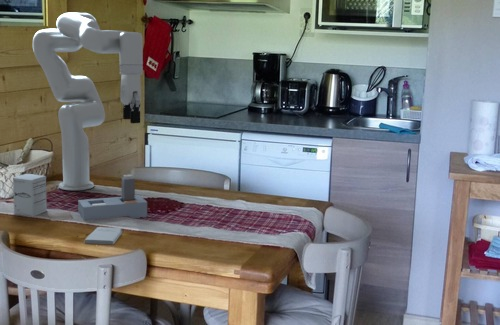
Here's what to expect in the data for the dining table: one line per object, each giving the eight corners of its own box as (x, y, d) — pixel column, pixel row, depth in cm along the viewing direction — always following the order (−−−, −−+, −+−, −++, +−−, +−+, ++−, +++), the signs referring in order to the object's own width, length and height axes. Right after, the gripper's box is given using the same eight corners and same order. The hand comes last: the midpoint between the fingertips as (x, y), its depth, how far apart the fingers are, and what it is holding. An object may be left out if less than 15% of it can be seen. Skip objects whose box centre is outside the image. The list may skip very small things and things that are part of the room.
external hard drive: (84, 245, 186) (96, 231, 198) (113, 246, 186) (123, 232, 198) (84, 239, 186) (96, 226, 198) (113, 240, 185) (123, 227, 198)
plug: (121, 207, 215) (121, 174, 213) (132, 207, 216) (131, 173, 214) (124, 210, 212) (124, 176, 210) (134, 209, 213) (134, 176, 211)
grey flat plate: (47, 217, 209) (47, 214, 209) (69, 215, 212) (69, 212, 212) (50, 224, 202) (50, 220, 202) (74, 221, 205) (74, 218, 205)
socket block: (78, 215, 212) (78, 199, 211) (139, 209, 221) (139, 194, 220) (83, 222, 204) (83, 206, 203) (147, 217, 213) (147, 201, 212)
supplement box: (13, 216, 209) (11, 177, 207) (28, 210, 216) (27, 172, 213) (33, 219, 207) (31, 179, 204) (47, 213, 213) (46, 175, 211)
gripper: (113, 68, 227) (114, 118, 230) (126, 71, 211) (126, 125, 215) (135, 68, 230) (135, 117, 233) (149, 71, 214) (149, 124, 218)
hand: (131, 121), depth 224 cm, fingers open, 9 cm apart
